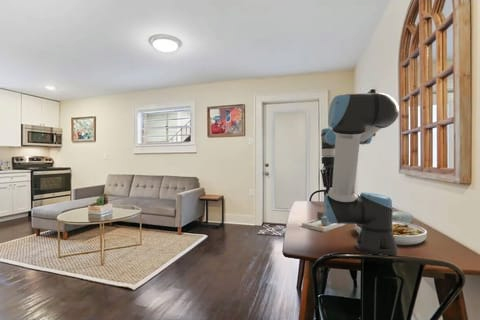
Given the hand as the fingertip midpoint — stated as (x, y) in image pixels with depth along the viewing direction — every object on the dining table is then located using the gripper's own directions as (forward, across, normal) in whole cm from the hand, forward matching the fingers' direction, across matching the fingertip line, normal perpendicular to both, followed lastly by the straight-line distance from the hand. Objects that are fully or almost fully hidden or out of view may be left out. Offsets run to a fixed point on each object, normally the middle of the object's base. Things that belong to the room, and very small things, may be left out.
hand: (329, 199), depth 141 cm
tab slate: (+13, +3, 0) cm, 14 cm away
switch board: (+16, -2, -5) cm, 16 cm away
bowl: (+16, -8, +27) cm, 33 cm away
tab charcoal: (+13, -7, -9) cm, 18 cm away
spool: (+16, -33, +23) cm, 43 cm away
